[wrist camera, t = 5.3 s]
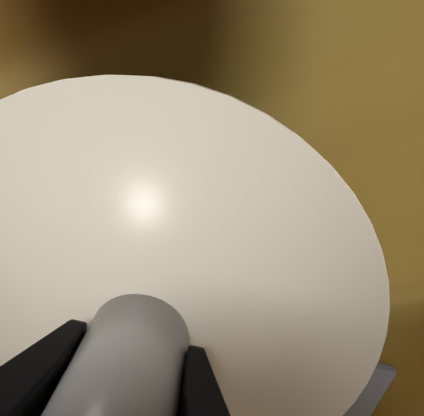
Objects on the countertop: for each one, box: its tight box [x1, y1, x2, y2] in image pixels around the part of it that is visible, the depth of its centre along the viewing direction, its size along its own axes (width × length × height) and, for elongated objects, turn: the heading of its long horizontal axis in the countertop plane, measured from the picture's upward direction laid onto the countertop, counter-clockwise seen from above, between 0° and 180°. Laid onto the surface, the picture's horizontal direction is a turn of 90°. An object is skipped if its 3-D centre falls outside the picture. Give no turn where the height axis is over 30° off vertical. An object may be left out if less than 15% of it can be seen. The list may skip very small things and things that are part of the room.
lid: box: [0, 75, 390, 416], centre depth 8 cm, size 13×13×4 cm
